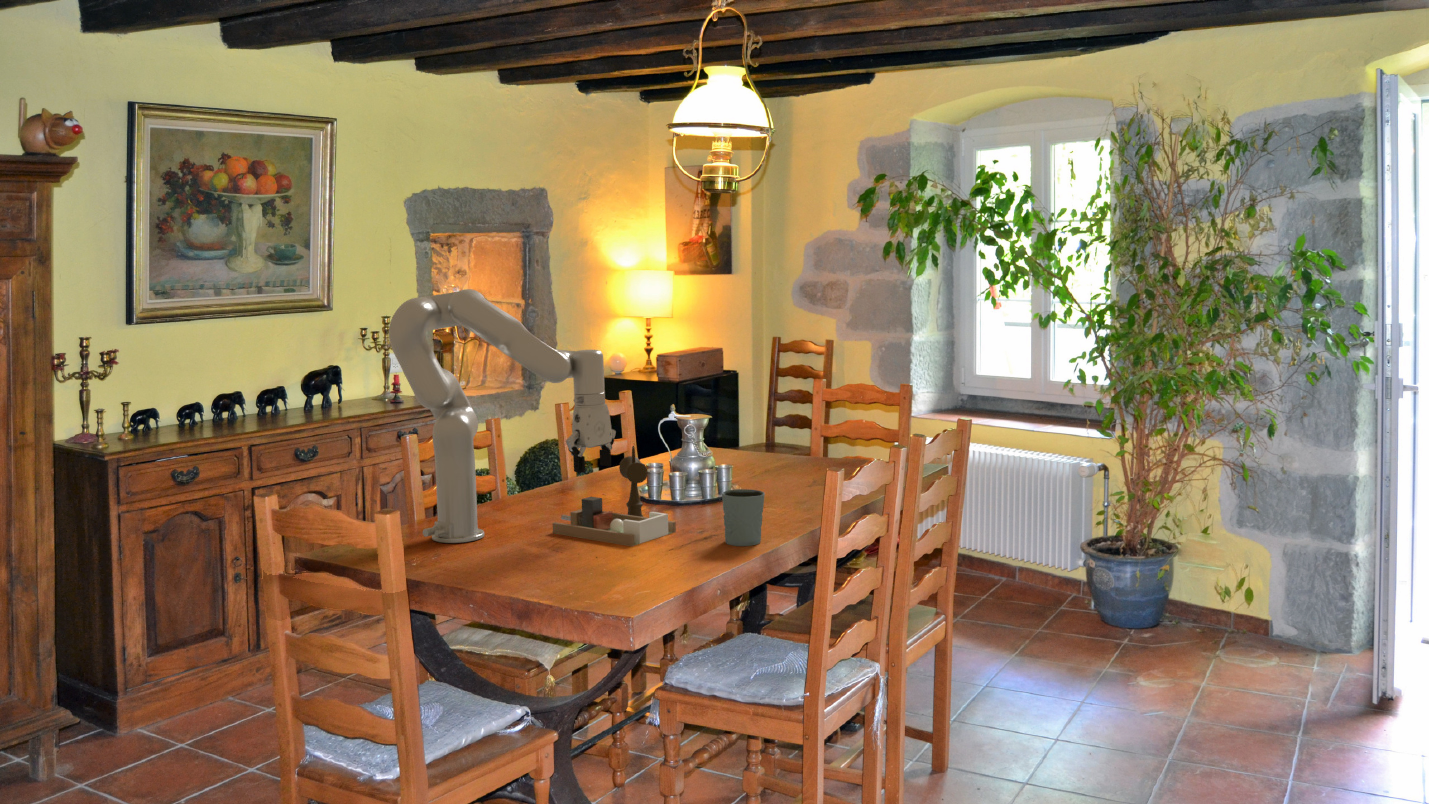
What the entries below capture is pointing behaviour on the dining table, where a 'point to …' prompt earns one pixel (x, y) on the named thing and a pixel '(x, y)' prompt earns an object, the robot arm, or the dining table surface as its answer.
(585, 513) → the block
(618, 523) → the ball
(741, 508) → the grey cup
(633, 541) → the open rectangular tray
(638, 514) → the kendama
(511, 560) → the dining table surface
